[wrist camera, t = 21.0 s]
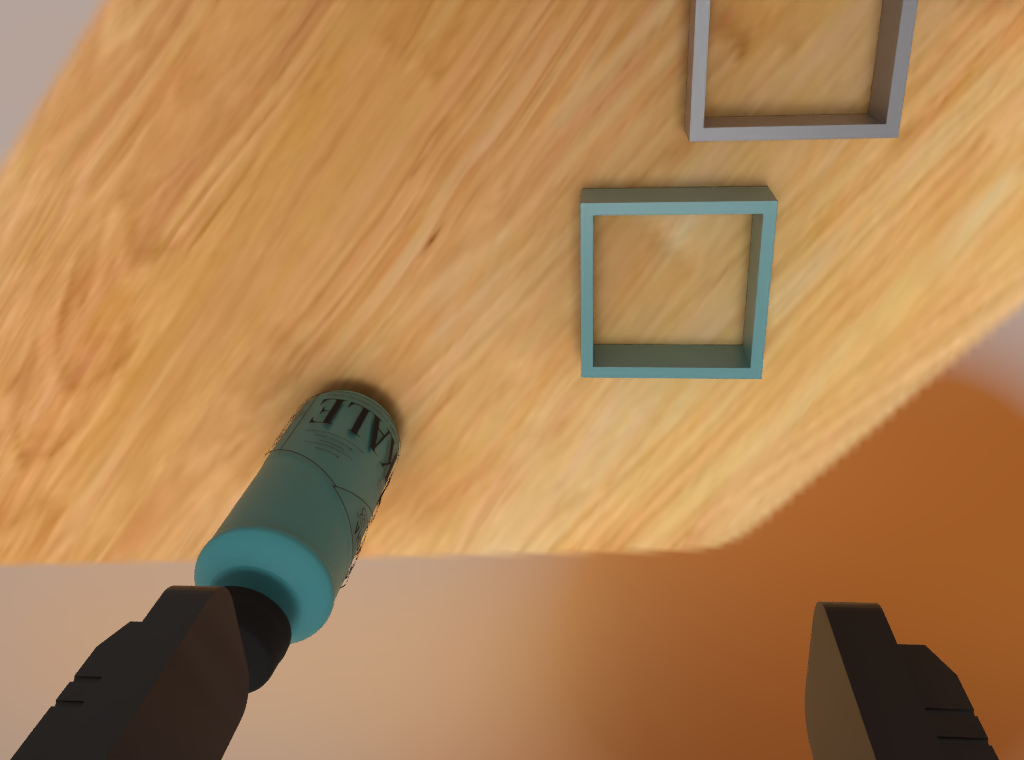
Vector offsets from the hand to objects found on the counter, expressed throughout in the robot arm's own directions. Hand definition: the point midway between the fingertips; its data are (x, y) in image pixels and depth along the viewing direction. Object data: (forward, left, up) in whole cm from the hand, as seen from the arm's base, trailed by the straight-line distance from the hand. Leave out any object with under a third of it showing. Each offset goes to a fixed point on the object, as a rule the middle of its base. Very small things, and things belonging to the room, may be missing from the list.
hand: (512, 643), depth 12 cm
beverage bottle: (+16, -14, -36) cm, 41 cm away
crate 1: (+7, +5, -36) cm, 37 cm away
